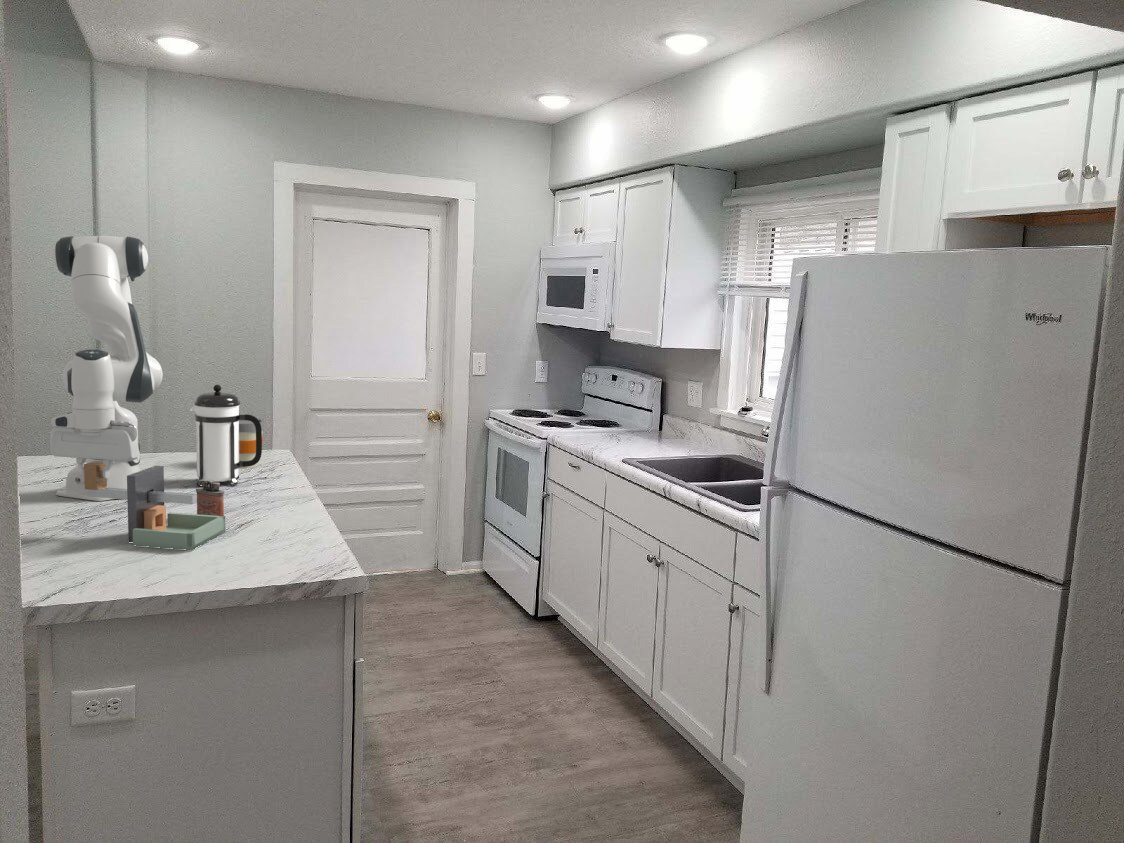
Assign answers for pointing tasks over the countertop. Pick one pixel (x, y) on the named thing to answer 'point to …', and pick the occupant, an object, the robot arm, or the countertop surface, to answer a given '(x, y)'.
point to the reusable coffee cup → (248, 440)
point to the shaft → (99, 489)
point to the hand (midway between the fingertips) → (95, 477)
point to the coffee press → (221, 436)
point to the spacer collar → (155, 518)
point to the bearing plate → (142, 495)
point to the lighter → (210, 499)
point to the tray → (181, 531)
